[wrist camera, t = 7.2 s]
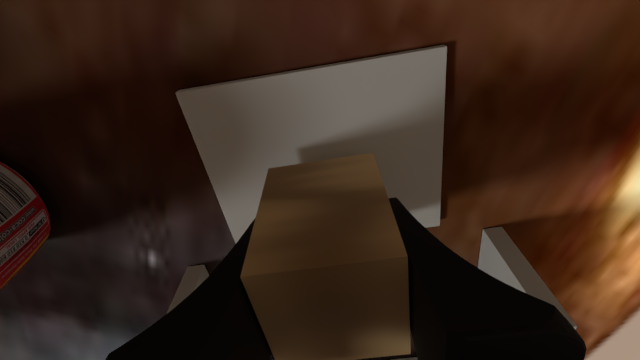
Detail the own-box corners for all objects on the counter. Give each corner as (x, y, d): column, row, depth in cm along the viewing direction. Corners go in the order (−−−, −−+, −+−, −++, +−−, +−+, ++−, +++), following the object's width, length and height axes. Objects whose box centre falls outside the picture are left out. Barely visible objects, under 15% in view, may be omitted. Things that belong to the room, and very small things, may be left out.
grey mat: (240, 246, 18) (238, 251, 18) (178, 90, 14) (175, 92, 13) (437, 221, 17) (439, 225, 17) (443, 44, 13) (447, 46, 12)
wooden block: (290, 245, 16) (277, 367, 11) (268, 168, 14) (240, 276, 9) (380, 233, 16) (410, 353, 11) (372, 152, 13) (407, 256, 8)
